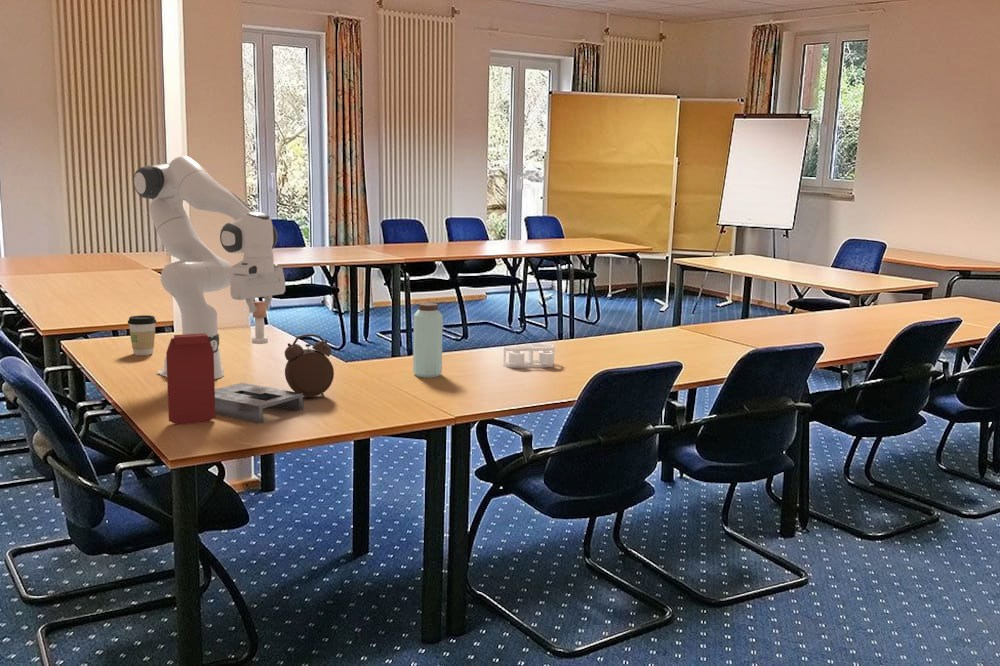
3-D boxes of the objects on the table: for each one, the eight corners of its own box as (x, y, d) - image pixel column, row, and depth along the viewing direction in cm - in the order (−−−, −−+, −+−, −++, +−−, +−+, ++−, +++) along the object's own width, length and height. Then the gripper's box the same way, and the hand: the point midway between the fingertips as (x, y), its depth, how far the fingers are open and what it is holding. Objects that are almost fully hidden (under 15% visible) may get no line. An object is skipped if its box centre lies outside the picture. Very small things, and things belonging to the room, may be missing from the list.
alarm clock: (329, 393, 292) (328, 331, 289) (335, 399, 286) (334, 335, 282) (282, 397, 286) (281, 333, 283) (287, 402, 280) (286, 337, 276)
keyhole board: (259, 423, 256) (258, 406, 255) (196, 410, 268) (196, 394, 267) (302, 410, 272) (302, 393, 271) (242, 398, 283) (241, 382, 282)
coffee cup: (136, 354, 343) (134, 314, 340) (162, 355, 343) (160, 315, 340) (124, 360, 333) (122, 318, 331) (151, 360, 333) (149, 319, 330)
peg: (248, 342, 283) (247, 302, 281) (259, 340, 288) (258, 300, 285) (260, 344, 281) (259, 303, 279) (271, 342, 285) (270, 302, 283)
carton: (171, 429, 248) (168, 337, 244) (168, 424, 253) (165, 334, 248) (217, 425, 254) (215, 335, 250) (214, 420, 258) (212, 332, 254)
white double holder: (505, 369, 335) (506, 349, 334) (500, 363, 346) (500, 344, 345) (559, 368, 339) (560, 349, 338) (552, 362, 350) (553, 343, 348)
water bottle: (439, 379, 316) (441, 306, 312) (410, 378, 317) (411, 305, 313) (443, 372, 326) (444, 302, 322) (415, 371, 327) (416, 301, 322)
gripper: (274, 263, 291) (275, 306, 293) (226, 268, 273) (227, 314, 276) (290, 264, 288) (290, 308, 290) (242, 269, 270) (243, 316, 273)
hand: (259, 311), depth 283 cm, fingers closed on peg, 4 cm apart
